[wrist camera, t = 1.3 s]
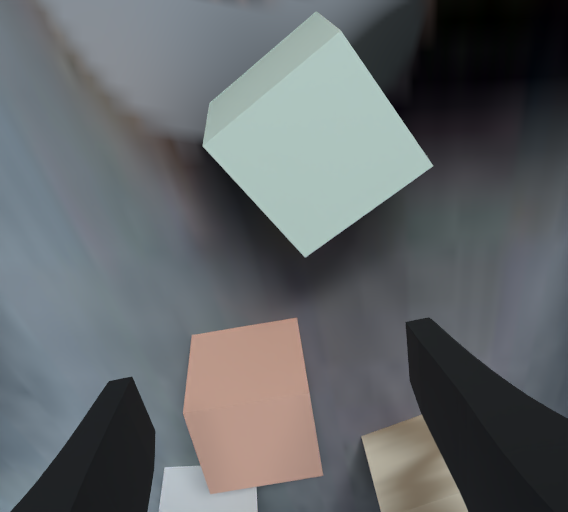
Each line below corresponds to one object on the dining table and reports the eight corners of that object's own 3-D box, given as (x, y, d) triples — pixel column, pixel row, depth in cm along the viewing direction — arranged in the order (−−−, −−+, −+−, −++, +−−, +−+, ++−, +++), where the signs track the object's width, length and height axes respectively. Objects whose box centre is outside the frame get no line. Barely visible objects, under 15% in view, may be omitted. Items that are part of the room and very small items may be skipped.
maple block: (447, 404, 29) (484, 484, 25) (468, 459, 31) (506, 541, 27) (361, 435, 30) (382, 518, 25) (388, 486, 32) (412, 571, 28)
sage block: (316, 11, 19) (340, 30, 14) (392, 120, 21) (433, 165, 17) (209, 103, 20) (202, 146, 16) (291, 197, 22) (305, 257, 18)
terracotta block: (296, 316, 25) (309, 392, 21) (309, 393, 28) (323, 475, 23) (192, 334, 25) (183, 413, 21) (214, 409, 28) (210, 494, 23)
